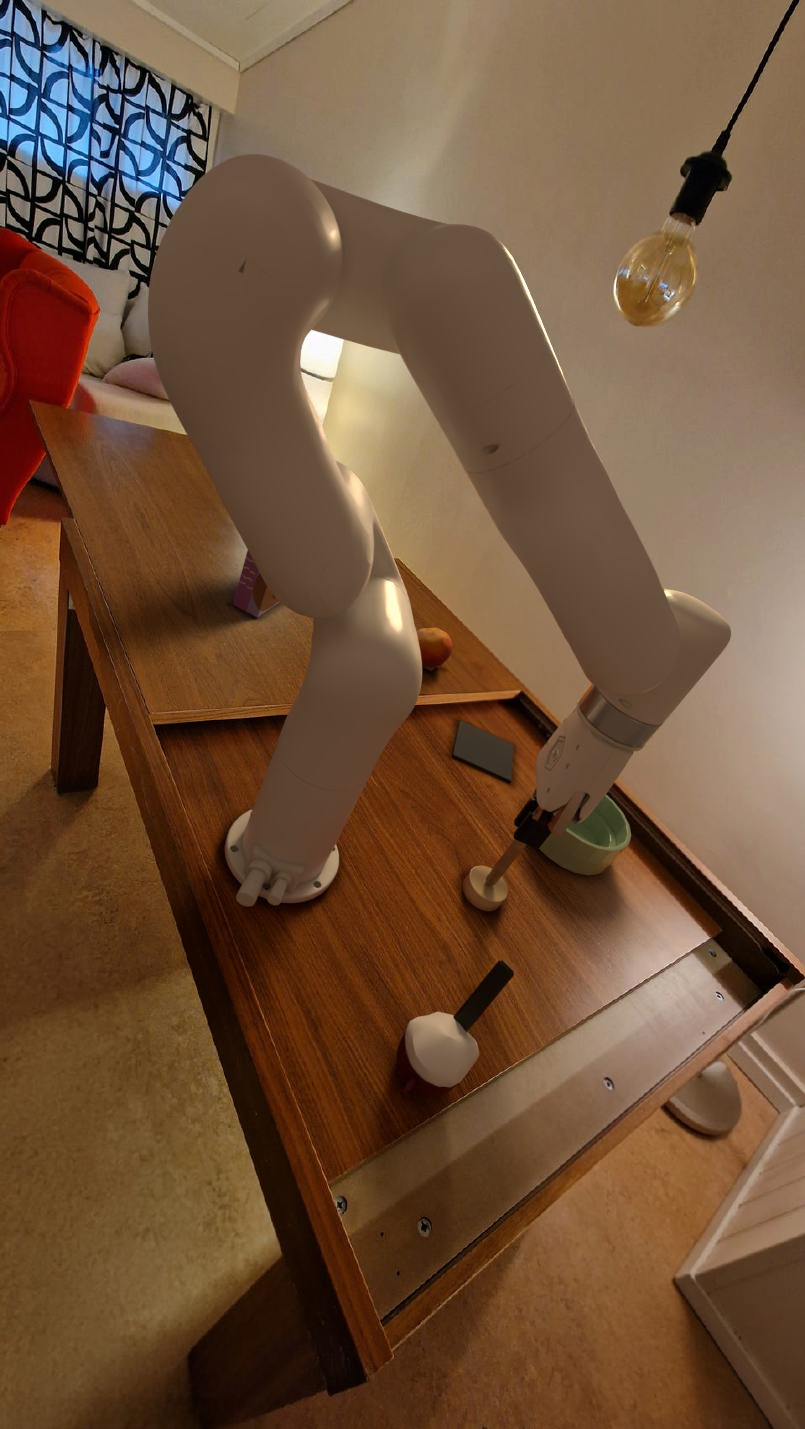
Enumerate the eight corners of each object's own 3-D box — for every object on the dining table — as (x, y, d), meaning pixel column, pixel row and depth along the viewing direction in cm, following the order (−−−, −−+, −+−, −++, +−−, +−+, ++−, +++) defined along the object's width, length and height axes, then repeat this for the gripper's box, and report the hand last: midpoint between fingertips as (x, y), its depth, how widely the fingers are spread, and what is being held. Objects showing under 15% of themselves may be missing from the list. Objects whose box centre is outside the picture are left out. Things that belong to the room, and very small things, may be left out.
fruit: (441, 679, 110) (439, 634, 107) (402, 675, 114) (399, 633, 111) (460, 666, 116) (458, 624, 114) (423, 663, 120) (420, 622, 117)
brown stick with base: (499, 918, 74) (573, 828, 65) (460, 900, 74) (528, 808, 65) (501, 885, 79) (570, 796, 70) (464, 868, 78) (529, 777, 69)
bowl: (611, 893, 86) (637, 866, 83) (519, 851, 85) (541, 823, 82) (602, 824, 98) (624, 798, 94) (521, 787, 97) (540, 760, 93)
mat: (510, 782, 97) (511, 780, 96) (452, 756, 96) (453, 754, 96) (512, 746, 105) (513, 744, 105) (458, 721, 104) (459, 719, 104)
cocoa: (396, 1124, 52) (457, 1061, 46) (365, 1050, 56) (418, 981, 49) (480, 1083, 58) (545, 1022, 51) (447, 1018, 62) (504, 954, 55)
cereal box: (257, 618, 104) (298, 482, 91) (232, 605, 104) (270, 467, 91) (302, 588, 119) (343, 467, 106) (280, 576, 119) (318, 454, 106)
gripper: (579, 661, 66) (498, 779, 77) (589, 743, 53) (491, 873, 64) (641, 690, 67) (553, 804, 77) (666, 778, 54) (556, 902, 64)
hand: (525, 834), depth 70 cm, fingers closed on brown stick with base, 1 cm apart
